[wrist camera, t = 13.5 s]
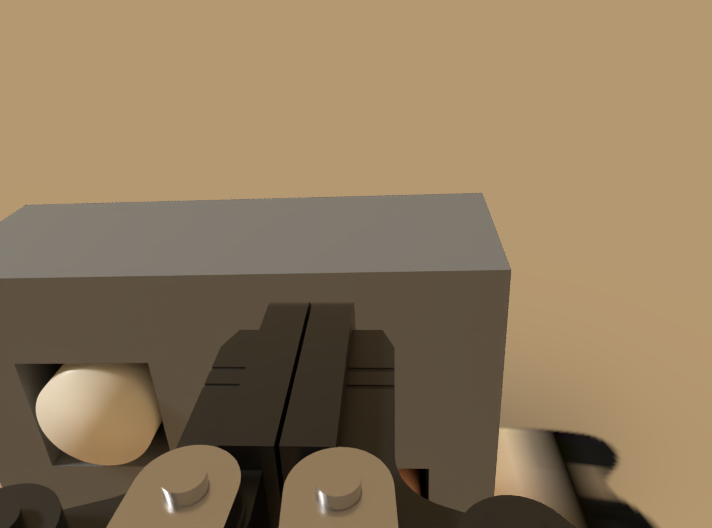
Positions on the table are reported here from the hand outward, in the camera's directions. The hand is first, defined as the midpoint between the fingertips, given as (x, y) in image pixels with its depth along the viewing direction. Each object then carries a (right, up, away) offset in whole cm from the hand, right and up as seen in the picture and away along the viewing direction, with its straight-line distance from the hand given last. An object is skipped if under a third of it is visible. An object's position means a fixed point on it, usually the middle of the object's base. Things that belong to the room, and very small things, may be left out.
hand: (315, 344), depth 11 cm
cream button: (-9, -5, +15) cm, 18 cm away
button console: (-3, -17, +22) cm, 28 cm away
